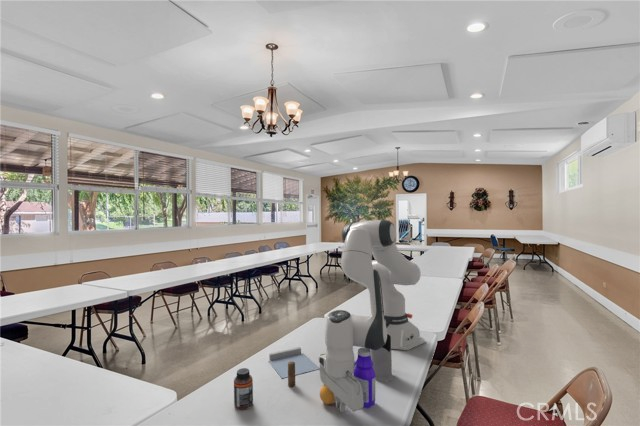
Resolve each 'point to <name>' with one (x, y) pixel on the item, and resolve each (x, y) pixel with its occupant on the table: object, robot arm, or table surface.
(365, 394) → the bottle
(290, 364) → the left post
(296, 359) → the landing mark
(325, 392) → the ball
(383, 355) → the glass holder
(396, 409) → the table surface
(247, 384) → the supplement bottle
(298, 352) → the stopper wall
